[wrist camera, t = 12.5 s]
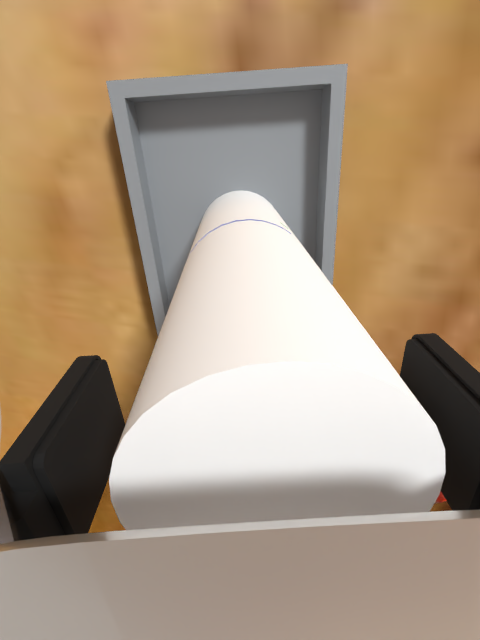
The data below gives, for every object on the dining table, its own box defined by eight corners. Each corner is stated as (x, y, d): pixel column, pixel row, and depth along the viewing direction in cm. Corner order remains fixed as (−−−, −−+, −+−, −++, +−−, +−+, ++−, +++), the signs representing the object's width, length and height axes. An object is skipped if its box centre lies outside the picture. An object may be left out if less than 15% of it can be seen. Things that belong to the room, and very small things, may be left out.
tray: (332, 74, 25) (347, 63, 22) (319, 329, 35) (328, 346, 32) (121, 89, 25) (106, 81, 22) (168, 339, 35) (162, 358, 32)
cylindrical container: (216, 176, 27) (165, 302, 5) (295, 210, 29) (522, 426, 6) (189, 255, 30) (79, 555, 8) (261, 283, 32) (338, 602, 9)
